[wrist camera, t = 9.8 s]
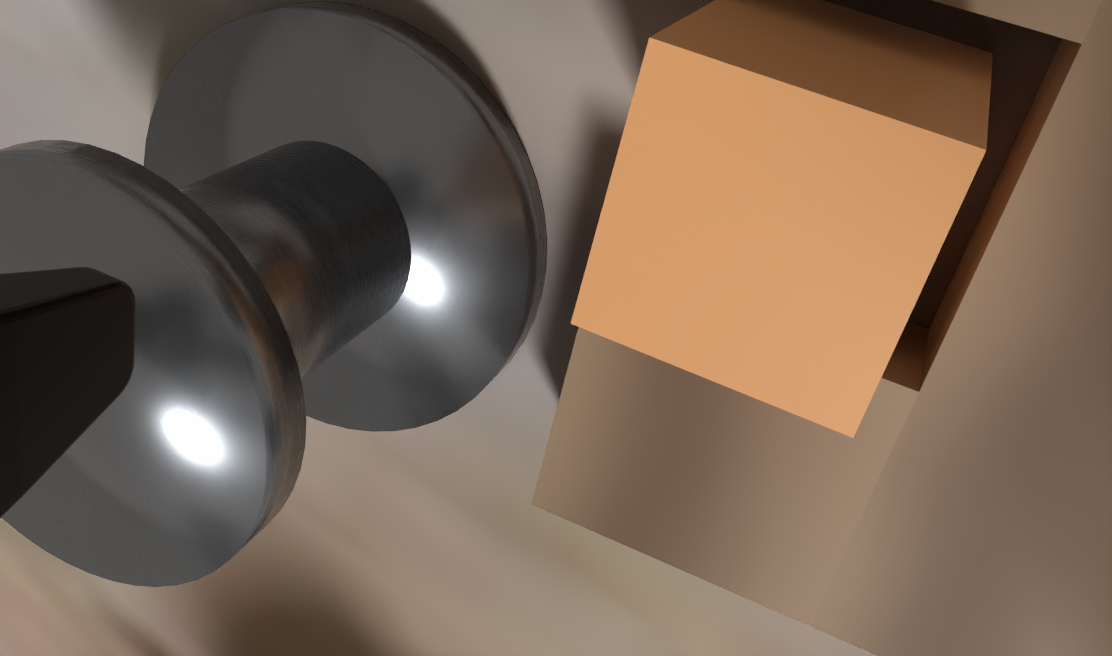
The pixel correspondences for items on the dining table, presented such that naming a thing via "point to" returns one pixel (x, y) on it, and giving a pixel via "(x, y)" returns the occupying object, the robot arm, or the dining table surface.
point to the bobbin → (276, 275)
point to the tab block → (784, 198)
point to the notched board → (905, 426)
